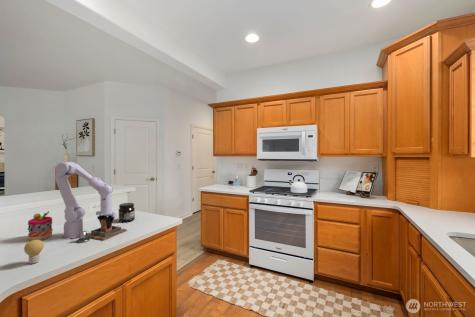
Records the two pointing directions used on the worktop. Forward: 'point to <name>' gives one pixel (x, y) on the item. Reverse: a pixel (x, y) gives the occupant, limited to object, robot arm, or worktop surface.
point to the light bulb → (34, 250)
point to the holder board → (105, 233)
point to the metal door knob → (83, 237)
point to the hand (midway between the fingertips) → (106, 227)
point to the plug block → (104, 226)
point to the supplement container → (126, 212)
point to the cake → (40, 227)
